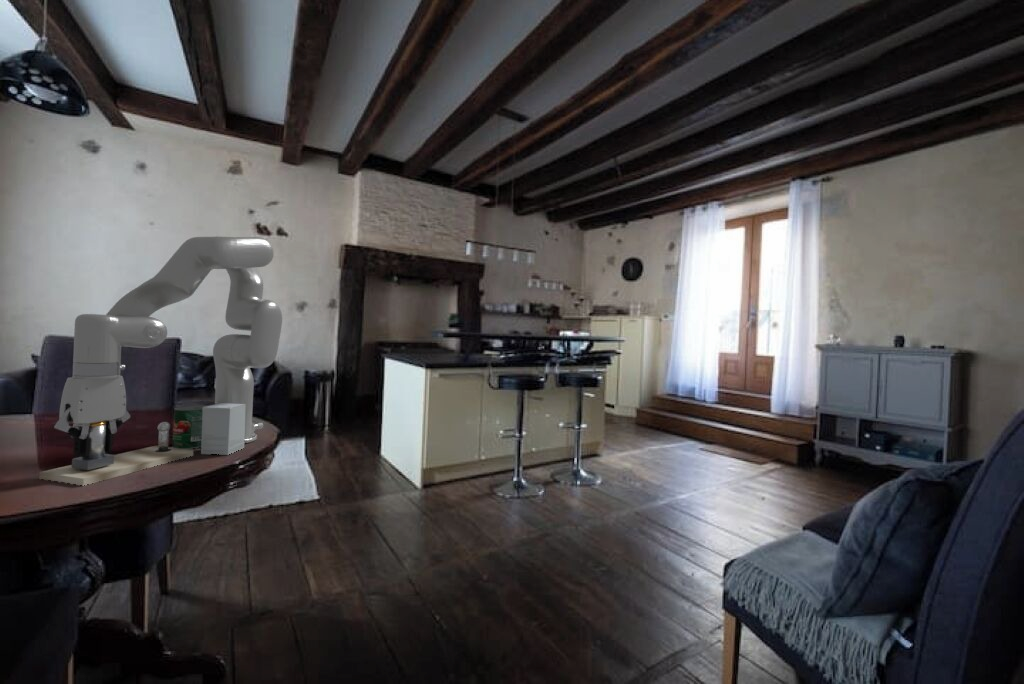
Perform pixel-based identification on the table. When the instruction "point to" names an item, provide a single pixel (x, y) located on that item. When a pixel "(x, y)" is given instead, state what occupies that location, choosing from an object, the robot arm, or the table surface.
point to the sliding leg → (95, 449)
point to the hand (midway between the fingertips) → (93, 452)
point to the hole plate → (117, 466)
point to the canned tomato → (187, 426)
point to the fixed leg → (163, 436)
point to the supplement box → (223, 428)
